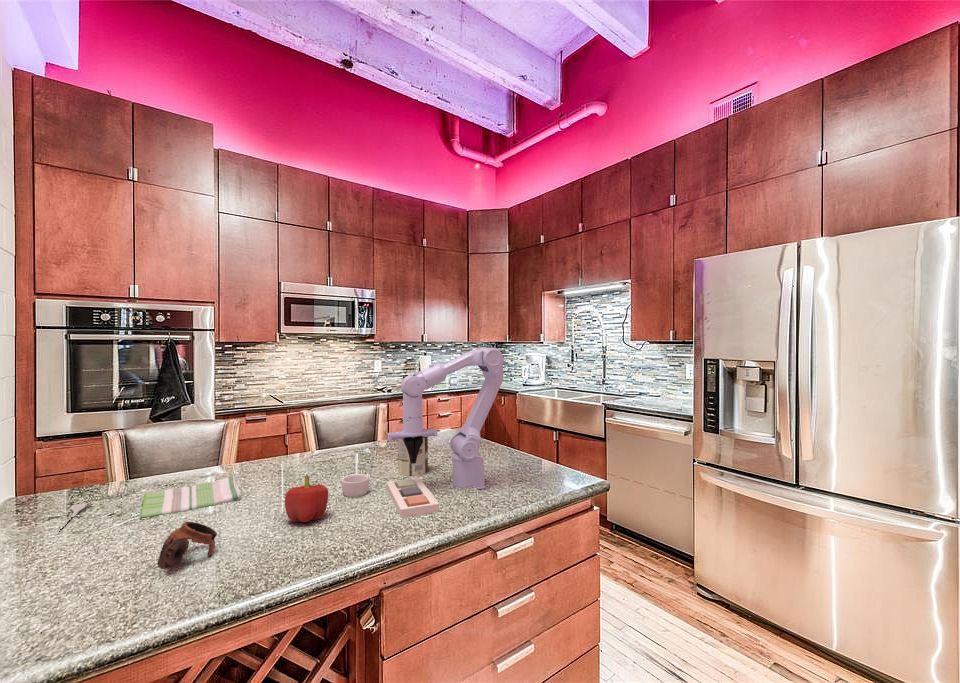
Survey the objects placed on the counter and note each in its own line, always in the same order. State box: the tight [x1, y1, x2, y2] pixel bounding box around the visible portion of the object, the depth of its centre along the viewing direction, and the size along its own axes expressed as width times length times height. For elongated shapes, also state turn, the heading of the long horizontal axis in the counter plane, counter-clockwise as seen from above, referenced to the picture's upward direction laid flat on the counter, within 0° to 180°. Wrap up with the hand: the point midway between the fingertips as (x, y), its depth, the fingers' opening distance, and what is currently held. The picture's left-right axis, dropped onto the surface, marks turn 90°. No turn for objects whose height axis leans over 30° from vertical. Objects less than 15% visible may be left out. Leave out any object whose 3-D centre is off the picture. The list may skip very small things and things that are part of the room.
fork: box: [70, 502, 93, 518], centre depth 111 cm, size 3×21×3 cm, turn 23°
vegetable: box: [284, 474, 329, 523], centre depth 110 cm, size 11×10×10 cm
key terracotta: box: [406, 495, 428, 507], centre depth 114 cm, size 5×5×2 cm
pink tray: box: [385, 477, 440, 519], centre depth 120 cm, size 10×22×3 cm, turn 22°
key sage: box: [395, 478, 416, 489], centre depth 127 cm, size 5×5×2 cm
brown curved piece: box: [157, 521, 218, 570], centre depth 90 cm, size 12×10×8 cm
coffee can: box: [397, 437, 429, 477], centre depth 144 cm, size 10×10×14 cm
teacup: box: [341, 473, 370, 498], centre depth 126 cm, size 10×8×5 cm
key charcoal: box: [401, 486, 421, 497], centre depth 120 cm, size 5×5×2 cm
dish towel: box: [139, 475, 243, 520], centre depth 123 cm, size 17×23×4 cm
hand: (413, 462), depth 126 cm, fingers closed
